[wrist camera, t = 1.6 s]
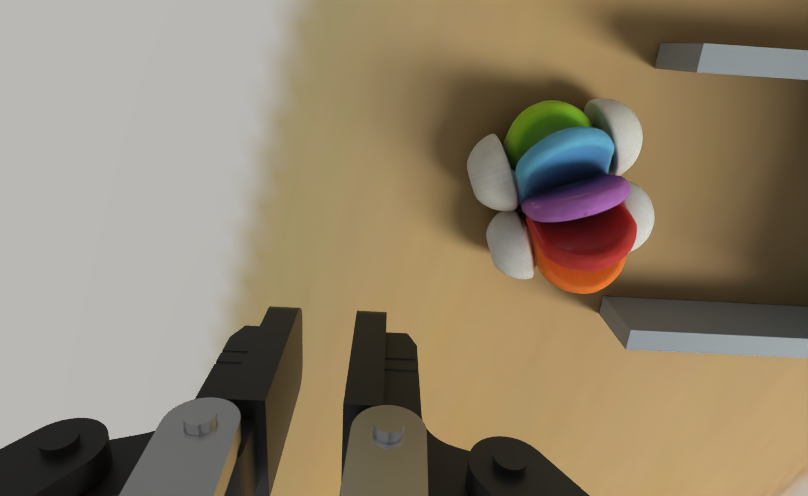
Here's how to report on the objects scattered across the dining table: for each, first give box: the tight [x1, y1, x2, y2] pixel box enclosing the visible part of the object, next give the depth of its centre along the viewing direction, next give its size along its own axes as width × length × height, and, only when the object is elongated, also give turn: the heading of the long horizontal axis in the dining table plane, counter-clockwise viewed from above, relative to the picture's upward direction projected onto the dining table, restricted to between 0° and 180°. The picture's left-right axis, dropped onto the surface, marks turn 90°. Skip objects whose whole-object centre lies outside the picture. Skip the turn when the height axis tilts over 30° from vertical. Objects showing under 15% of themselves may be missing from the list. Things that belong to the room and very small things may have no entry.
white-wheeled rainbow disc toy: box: [467, 99, 654, 294], centre depth 26 cm, size 8×10×7 cm
